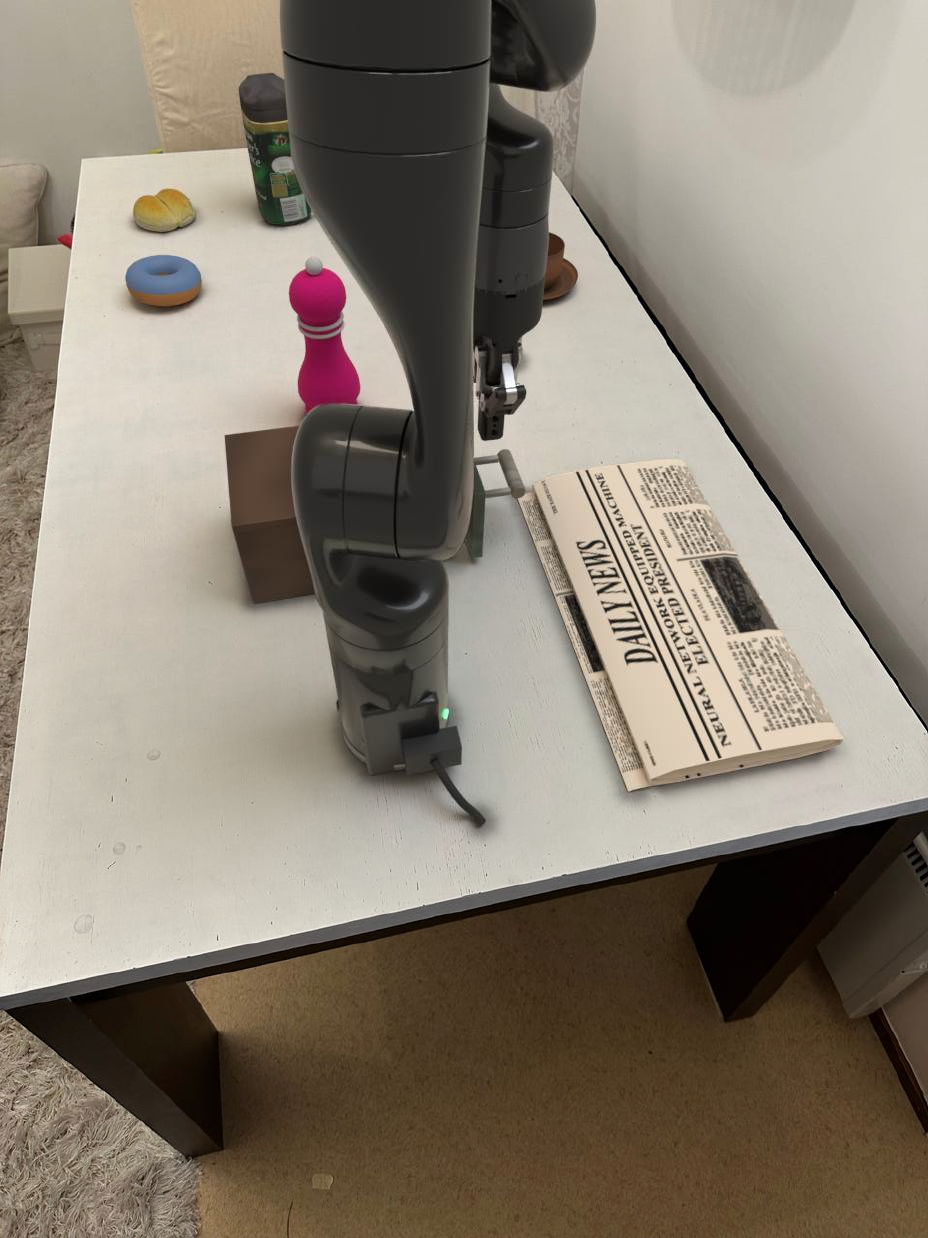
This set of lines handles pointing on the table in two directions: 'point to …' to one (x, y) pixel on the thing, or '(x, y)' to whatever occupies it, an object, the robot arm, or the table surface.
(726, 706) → the newspaper
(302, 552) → the brown box
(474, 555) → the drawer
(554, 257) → the cup and saucer
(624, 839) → the table surface
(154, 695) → the table surface
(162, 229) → the bread roll
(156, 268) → the doughnut
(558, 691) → the table surface
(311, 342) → the pepper mill
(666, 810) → the table surface
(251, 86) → the coffee jar
